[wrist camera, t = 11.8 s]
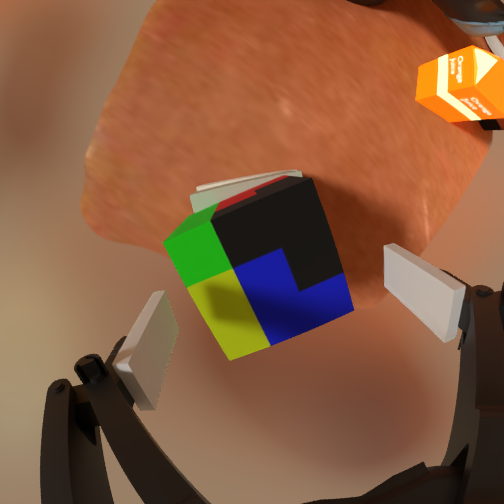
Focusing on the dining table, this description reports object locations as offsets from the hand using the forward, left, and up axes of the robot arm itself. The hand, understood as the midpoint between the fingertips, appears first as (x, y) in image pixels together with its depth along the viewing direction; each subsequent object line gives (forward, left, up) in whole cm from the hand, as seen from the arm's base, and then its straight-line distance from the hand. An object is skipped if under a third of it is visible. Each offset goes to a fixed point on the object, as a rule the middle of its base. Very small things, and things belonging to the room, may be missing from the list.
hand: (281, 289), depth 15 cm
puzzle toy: (+1, 0, -13) cm, 13 cm away
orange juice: (-36, -17, -24) cm, 46 cm away
